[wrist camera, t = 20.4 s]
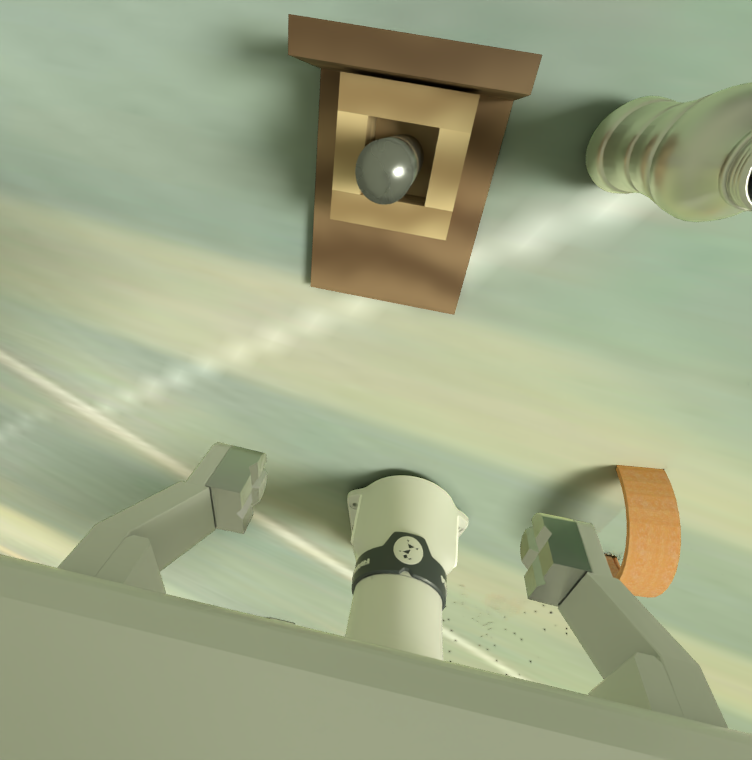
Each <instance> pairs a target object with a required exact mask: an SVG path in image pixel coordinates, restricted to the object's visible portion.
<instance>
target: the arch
mask: <svg viewBox="0 0 752 760" xmlns="http://www.w3.org/2000/svg"><path fill="white" fill-rule="evenodd" d="M615 470H616V472H617V474H618V477H619V480H620V483H621V487H622V491H623V495H624V501H625V507H626V518H627V537H626V548H625V553H624V558H623V562H622V565H621V566H620V565H619V562H618V560H617V558H616V556H611V555H605V554H604V555H605V557H606V560H607V563H608V565H609V568H610V571H611V574H612V576H613V578H616V579H619V580H620V581H621V582H622V583H623V584H624V585H625V587H626V588H627V589H628V590H629V591H630V592H631V593H632V594H633V595H634V596H642V597H656V596H658V595H661V594H662V593H663V592H664V591H665V590H666V589H667V588H668V587H669V585H670V584H671V582H672V580H673V578H674V575H675V573H676V570H677V566H678V561H679V557H680V546H681V527H680V519H679V511H678V507H677V502H676V498H675V495H674V492H673V489H672V486H671V483H670V481H669V479H668V477H667V474H666V472H665V471H664V469H654V468H643V467H632V466H622V465H617V468H616V469H615Z"/></svg>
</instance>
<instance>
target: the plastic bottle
mask: <svg viewBox="0 0 752 760" xmlns="http://www.w3.org/2000/svg"><path fill="white" fill-rule="evenodd" d="M586 167H587V171H588V173H589V175H590V177H591V179H592V180H593V182H594V183H595V184H596V185H597V186H598V187H599V188H601V189H603V190H604V191H607V192H610V193H619V194H627V193H641V194H643V195H645V196H647V197H649V198H650V199H651V200H652V201H653V202H654V203H656V204H657V205H658V206H659V207H660V208H661V209H662V210H664V211H665V212H667V213H668V214H670V215H672V216H673V217H675V218H678V219H681V220H684V221H689V222H705V221H714V220H721V219H724V218H728V217H732V216H735V215H737V214H740V213H742V212H745V211H752V82H751V83H745V84H740V85H737V86H733V87H729V88H726V89H724V90H721V91H718V92H716V93H713V94H710V95H708V96H705V97H703V98H700V99H698V100H694V101H689V102H685V103H681V102H676V101H674V100H671V99H668V98H664V97H660V96H646V97H640V98H637V99H634V100H632V101H629V102H628V103H626V104H624V105H622V106H620V107H619V108H617V109H616V110H614V111H613V112H612V113H610V114H609V115H608V116H607V117H606V118H605V119H604V120H603V121H602V122H601V123H600V124H599V126H598V127H597V128H596V130H595V131H594V133H593V135H592V137H591V139H590V141H589V144H588V147H587V152H586Z"/></svg>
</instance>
